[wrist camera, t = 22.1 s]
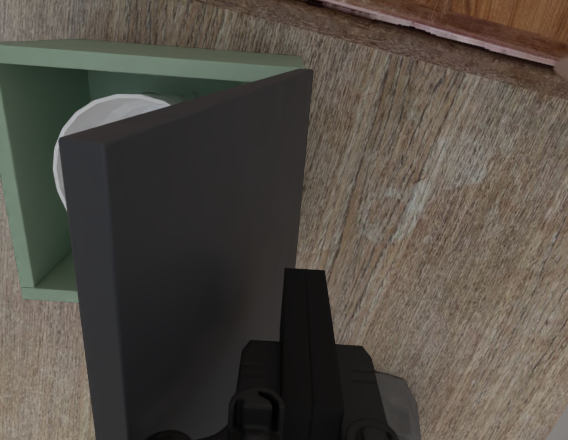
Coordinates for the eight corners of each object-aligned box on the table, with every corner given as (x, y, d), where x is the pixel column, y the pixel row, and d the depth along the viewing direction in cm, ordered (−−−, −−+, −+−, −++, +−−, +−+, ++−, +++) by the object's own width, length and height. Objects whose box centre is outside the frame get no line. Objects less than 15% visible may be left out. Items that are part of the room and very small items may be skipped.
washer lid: (124, 672, 13) (150, 683, 12) (55, 136, 7) (103, 143, 7) (278, 320, 28) (290, 323, 28) (298, 68, 23) (313, 69, 22)
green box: (96, 224, 40) (22, 299, 29) (78, 38, 34) (-26, 42, 23) (286, 238, 40) (284, 317, 29) (301, 56, 34) (305, 68, 23)
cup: (89, 141, 36) (20, 179, 27) (169, 47, 33) (123, 54, 24) (184, 223, 38) (151, 284, 29) (266, 143, 36) (257, 182, 26)
